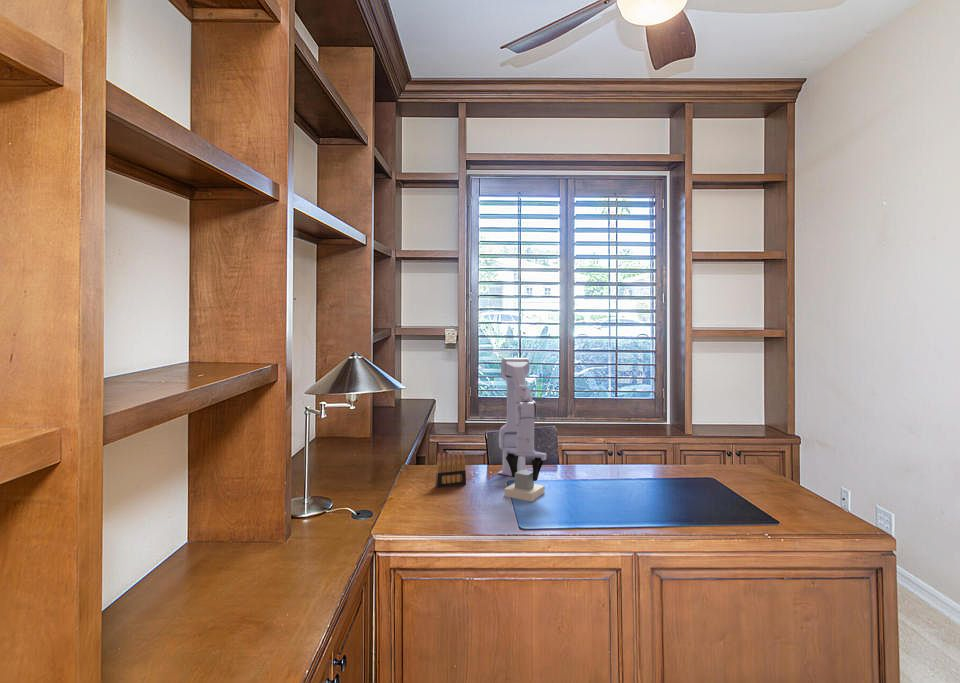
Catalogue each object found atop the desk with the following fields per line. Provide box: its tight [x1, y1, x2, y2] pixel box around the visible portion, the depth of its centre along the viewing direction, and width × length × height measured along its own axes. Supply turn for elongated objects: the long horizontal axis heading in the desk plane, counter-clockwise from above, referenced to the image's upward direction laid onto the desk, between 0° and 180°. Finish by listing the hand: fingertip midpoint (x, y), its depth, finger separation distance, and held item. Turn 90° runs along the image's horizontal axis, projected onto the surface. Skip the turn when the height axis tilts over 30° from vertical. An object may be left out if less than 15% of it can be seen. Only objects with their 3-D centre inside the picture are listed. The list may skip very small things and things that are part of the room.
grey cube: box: [514, 469, 535, 490], centre depth 186 cm, size 5×5×5 cm
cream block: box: [503, 482, 546, 502], centre depth 186 cm, size 10×10×3 cm
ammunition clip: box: [434, 450, 467, 489], centre depth 195 cm, size 11×2×12 cm, turn 112°
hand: (524, 478), depth 186 cm, fingers open, 7 cm apart
